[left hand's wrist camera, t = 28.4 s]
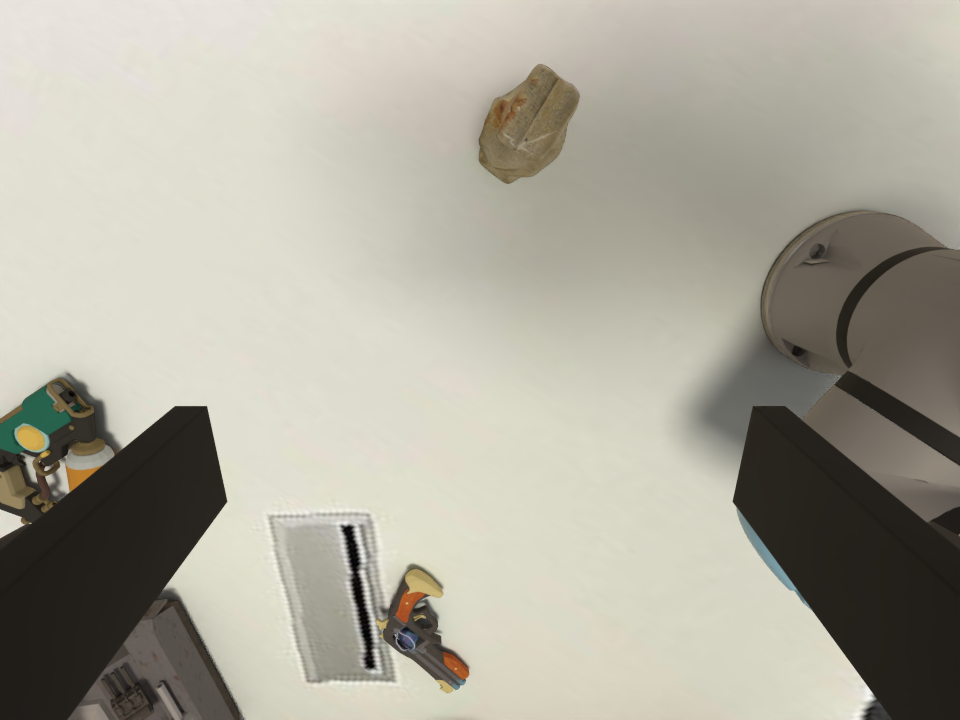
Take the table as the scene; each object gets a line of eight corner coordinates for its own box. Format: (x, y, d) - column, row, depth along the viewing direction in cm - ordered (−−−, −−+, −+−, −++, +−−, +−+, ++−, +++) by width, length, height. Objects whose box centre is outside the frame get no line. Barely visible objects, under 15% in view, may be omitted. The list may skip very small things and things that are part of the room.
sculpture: (568, 122, 45) (608, 107, 31) (516, 192, 47) (531, 208, 33) (515, 76, 43) (532, 37, 29) (463, 150, 45) (456, 147, 31)
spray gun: (27, 514, 60) (-46, 399, 56) (153, 490, 58) (87, 368, 53) (-7, 539, 56) (-90, 417, 52) (126, 514, 54) (52, 384, 49)
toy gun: (416, 575, 60) (349, 622, 61) (509, 661, 67) (448, 702, 68) (416, 559, 62) (351, 604, 63) (506, 643, 69) (446, 683, 70)
